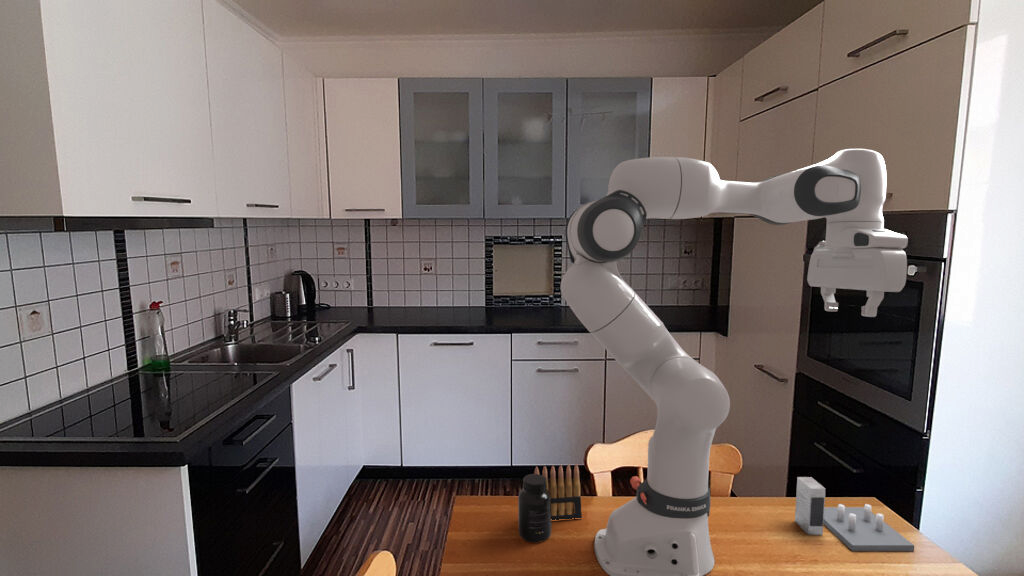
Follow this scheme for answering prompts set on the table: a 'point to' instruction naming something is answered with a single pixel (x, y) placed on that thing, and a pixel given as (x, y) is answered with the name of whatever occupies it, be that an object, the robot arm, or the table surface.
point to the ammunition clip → (563, 493)
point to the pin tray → (864, 529)
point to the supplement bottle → (534, 509)
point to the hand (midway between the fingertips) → (848, 313)
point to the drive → (810, 505)
